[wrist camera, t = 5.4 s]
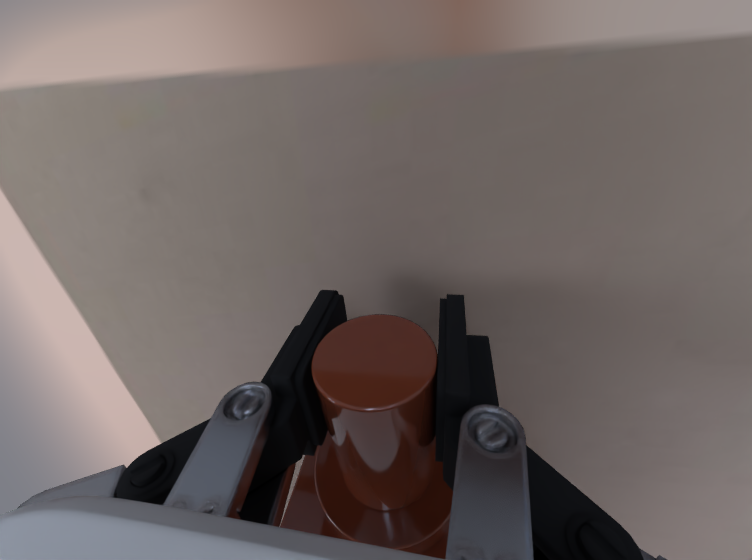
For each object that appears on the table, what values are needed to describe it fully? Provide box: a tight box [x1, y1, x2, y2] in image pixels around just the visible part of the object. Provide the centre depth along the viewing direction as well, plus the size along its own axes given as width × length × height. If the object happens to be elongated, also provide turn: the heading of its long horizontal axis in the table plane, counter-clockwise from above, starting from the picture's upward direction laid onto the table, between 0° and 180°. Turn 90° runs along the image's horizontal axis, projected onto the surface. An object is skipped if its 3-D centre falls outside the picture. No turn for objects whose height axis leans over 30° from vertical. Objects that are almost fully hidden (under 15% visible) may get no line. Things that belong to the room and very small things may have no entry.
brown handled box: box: [280, 314, 453, 559], centre depth 13 cm, size 7×9×16 cm
